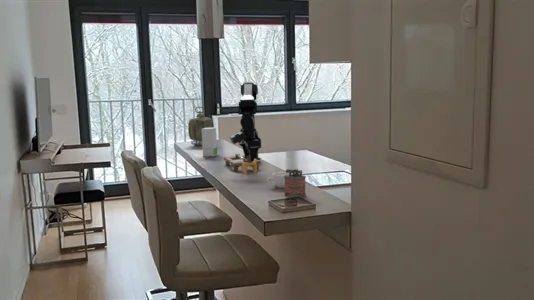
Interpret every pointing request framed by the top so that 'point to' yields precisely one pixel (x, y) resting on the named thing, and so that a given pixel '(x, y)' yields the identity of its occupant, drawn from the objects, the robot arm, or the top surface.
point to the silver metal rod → (241, 157)
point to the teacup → (278, 179)
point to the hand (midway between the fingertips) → (249, 160)
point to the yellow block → (244, 164)
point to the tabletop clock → (199, 126)
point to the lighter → (294, 183)
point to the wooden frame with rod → (231, 161)
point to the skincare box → (209, 142)
